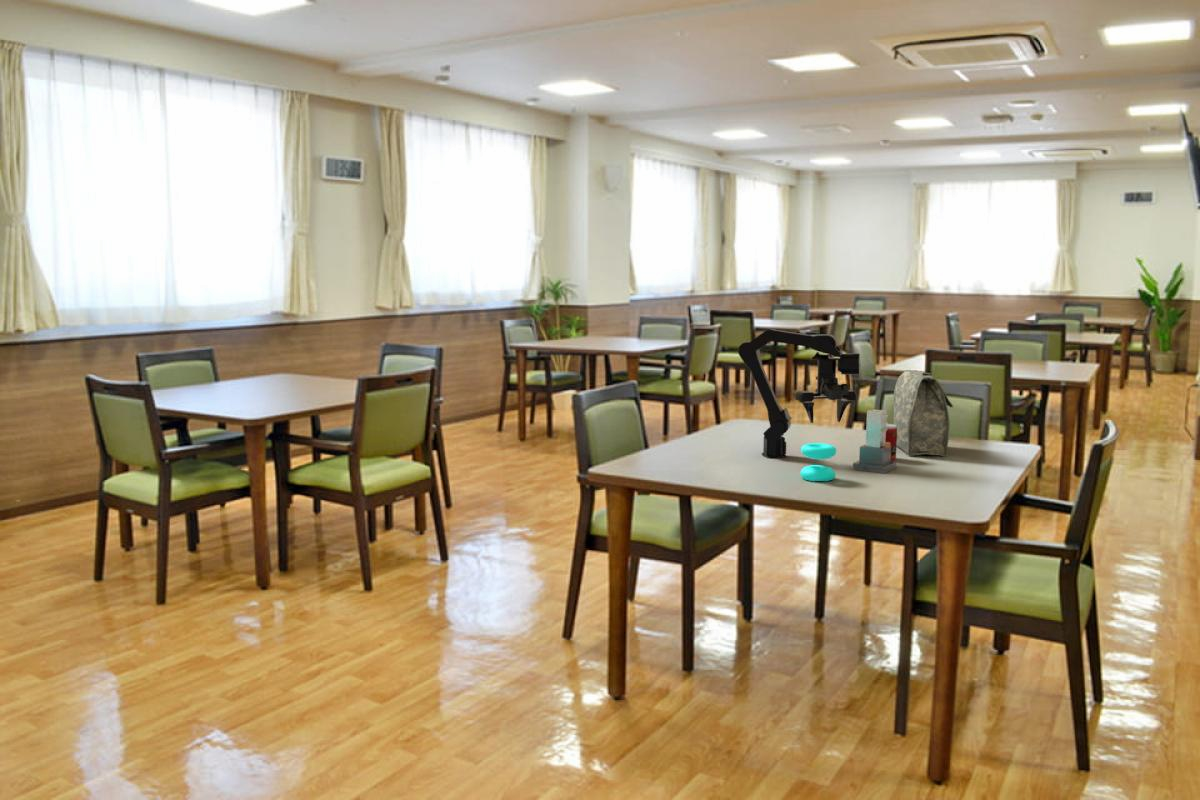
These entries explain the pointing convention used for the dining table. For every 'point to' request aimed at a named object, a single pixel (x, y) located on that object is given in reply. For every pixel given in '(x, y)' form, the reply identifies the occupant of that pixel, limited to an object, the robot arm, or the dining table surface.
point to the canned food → (892, 438)
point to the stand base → (875, 459)
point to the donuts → (818, 470)
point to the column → (876, 428)
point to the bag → (921, 414)
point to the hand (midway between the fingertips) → (825, 422)
